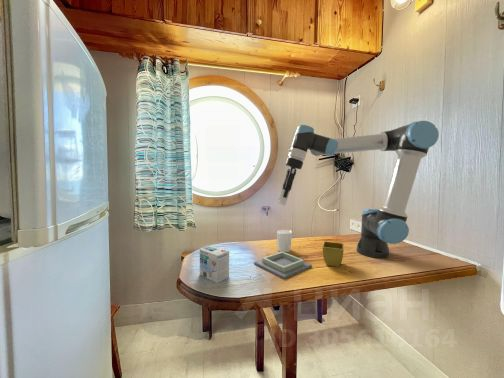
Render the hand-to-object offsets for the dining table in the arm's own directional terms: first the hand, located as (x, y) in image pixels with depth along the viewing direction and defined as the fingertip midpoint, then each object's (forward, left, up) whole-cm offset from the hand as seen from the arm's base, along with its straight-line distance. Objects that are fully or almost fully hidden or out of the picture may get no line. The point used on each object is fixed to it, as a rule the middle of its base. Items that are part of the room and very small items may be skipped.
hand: (281, 202), depth 106 cm
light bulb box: (+4, +34, -27) cm, 44 cm away
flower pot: (-19, -14, -27) cm, 36 cm away
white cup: (+7, -10, -27) cm, 30 cm away
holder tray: (-6, +5, -27) cm, 28 cm away
